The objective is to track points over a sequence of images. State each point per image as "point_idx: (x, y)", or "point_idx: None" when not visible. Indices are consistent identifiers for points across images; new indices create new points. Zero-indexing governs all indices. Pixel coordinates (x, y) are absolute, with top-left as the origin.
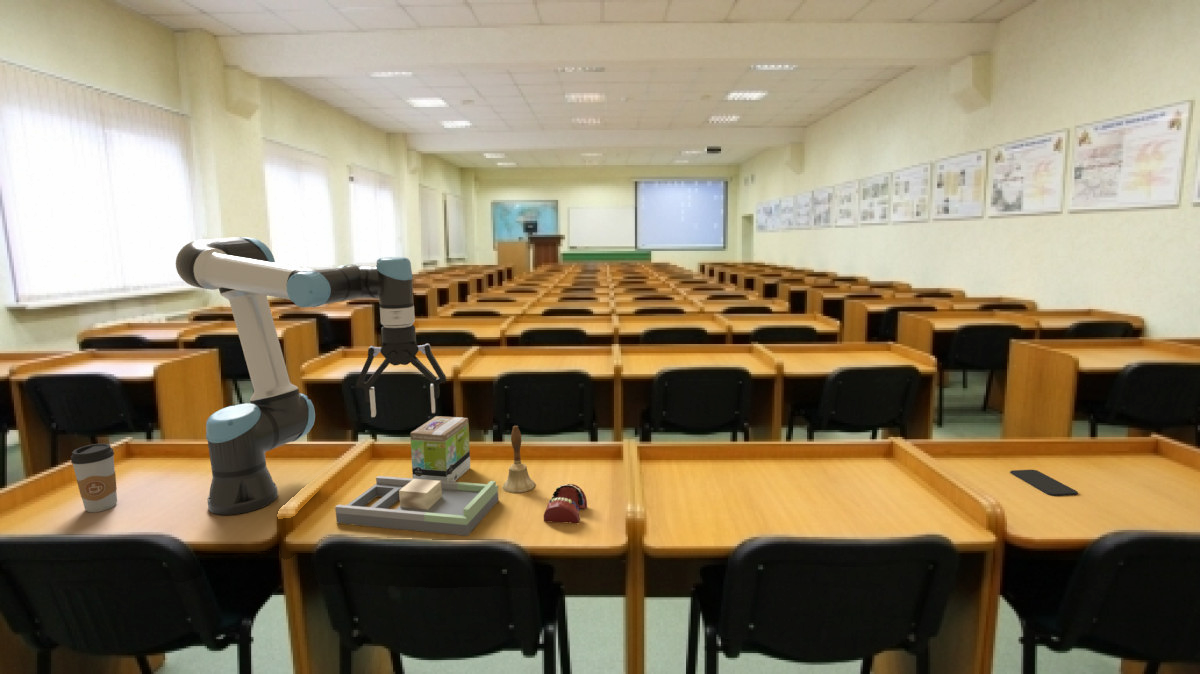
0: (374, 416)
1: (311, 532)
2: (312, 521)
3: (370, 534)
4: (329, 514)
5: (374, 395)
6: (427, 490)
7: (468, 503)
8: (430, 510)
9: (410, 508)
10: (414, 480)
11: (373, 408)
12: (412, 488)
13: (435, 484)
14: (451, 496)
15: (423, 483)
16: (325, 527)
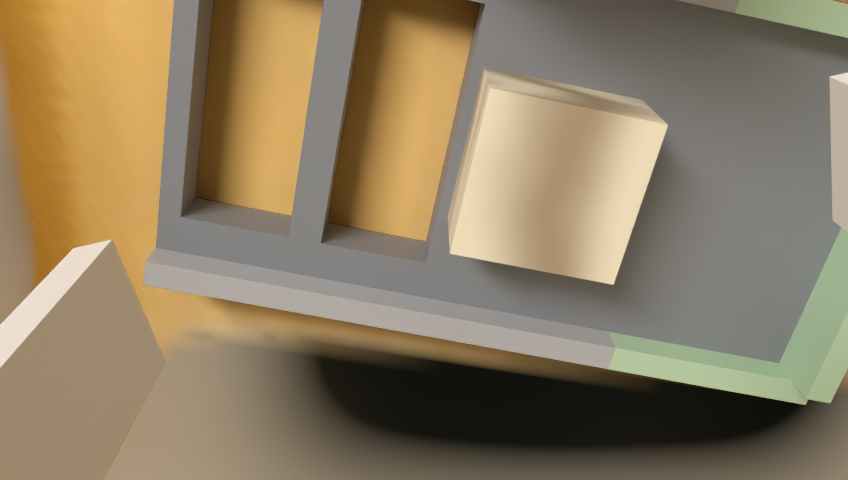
0: (160, 365)
1: None
2: (45, 228)
3: (367, 341)
4: (81, 161)
5: (3, 419)
6: (611, 256)
7: (792, 185)
8: None
9: None
10: (500, 115)
11: (122, 429)
12: (519, 228)
13: (643, 177)
14: (694, 99)
15: (567, 162)
16: (141, 282)
